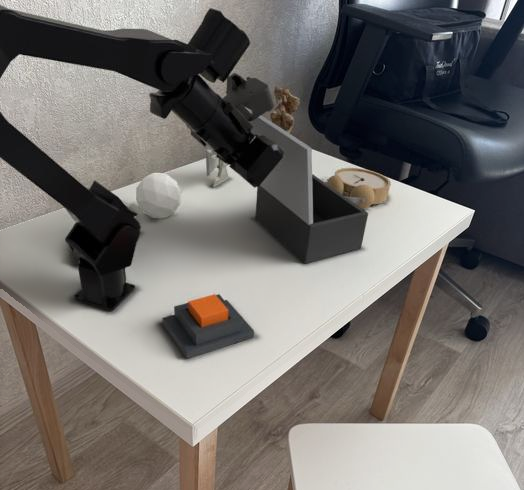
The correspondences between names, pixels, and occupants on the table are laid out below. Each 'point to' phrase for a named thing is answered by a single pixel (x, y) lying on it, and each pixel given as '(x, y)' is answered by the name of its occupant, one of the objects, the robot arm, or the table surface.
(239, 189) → the table surface
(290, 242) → the open storage box
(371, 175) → the alarm clock
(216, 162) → the cross
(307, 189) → the lid
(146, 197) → the geometric ball
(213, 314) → the button
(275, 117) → the figurine
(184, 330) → the block
